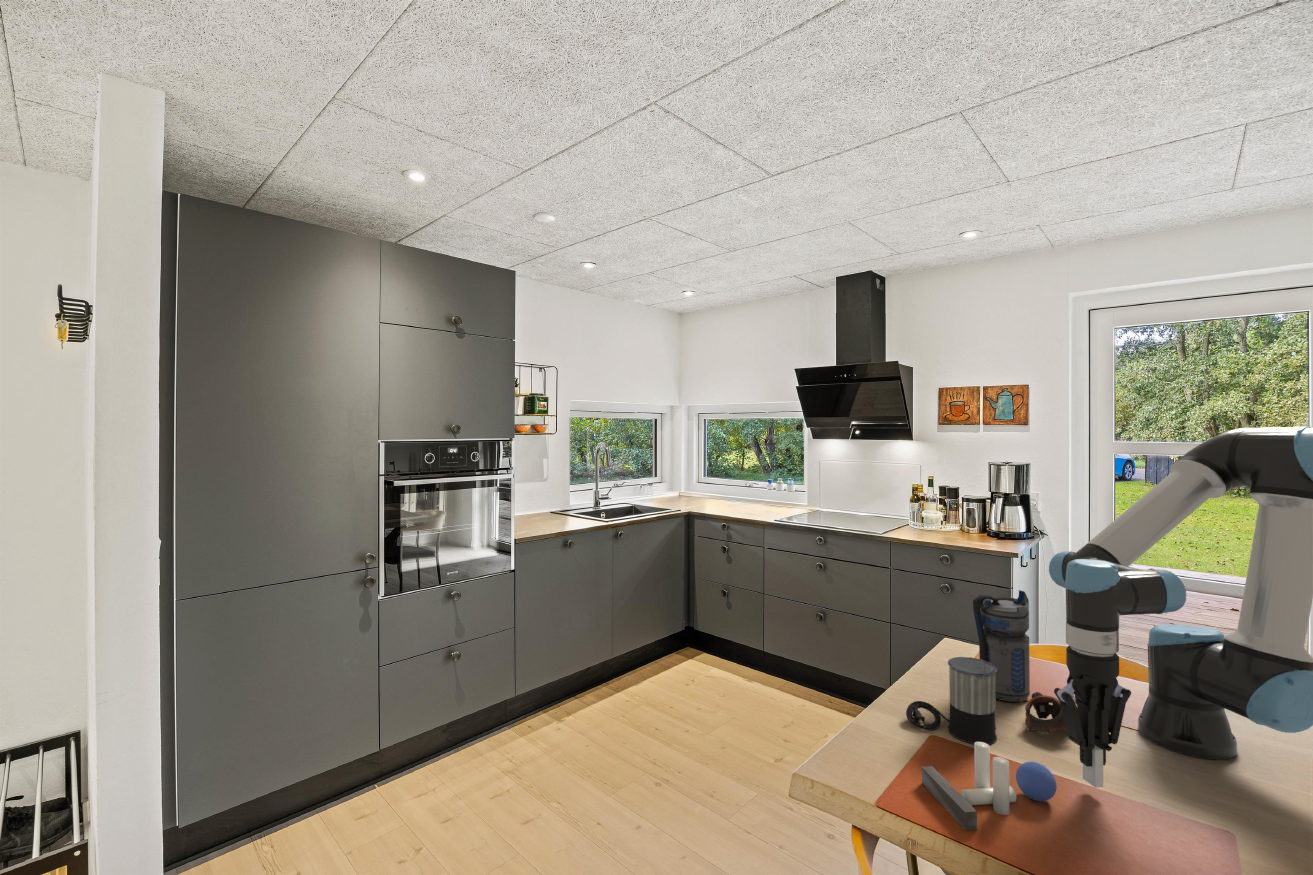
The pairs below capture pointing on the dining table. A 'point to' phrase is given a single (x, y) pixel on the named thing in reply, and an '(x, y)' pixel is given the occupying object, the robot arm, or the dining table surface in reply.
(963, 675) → the milk frother
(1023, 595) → the beverage bottle
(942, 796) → the back wall
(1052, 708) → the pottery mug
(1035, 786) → the ball
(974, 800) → the front pin
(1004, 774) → the pin
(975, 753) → the pin
